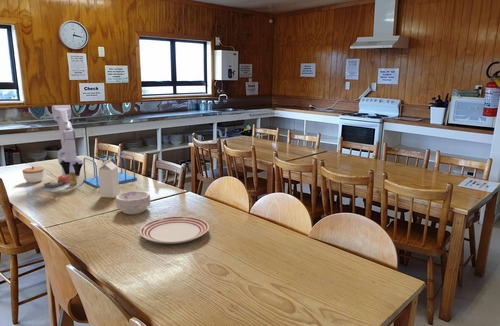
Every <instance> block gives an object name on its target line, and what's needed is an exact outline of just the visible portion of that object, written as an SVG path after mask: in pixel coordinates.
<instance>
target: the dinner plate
mask: <svg viewBox="0 0 500 326" xmlns="http://www.w3.org/2000/svg"><path fill="white" fill-rule="evenodd" d="M209 229H210V225H209V223H208V222H207V221H206V220H204V219H201V218H198V217H194V216H187V215H177V216H173V215H172V216H166V217H162V218H157V219H154V220H151V221H148V222H146V223H144V224H143V225H142V226H141V227H140V229H139V234H140V236H141V237H142V238H144V239H145V240H147V241H150V242H153V243H158V244H168V245H171V244H172V245H175V244H182V243H186V242H187V243H188V242H190V241H194V240H196V239H198V238H201V237H202V236H204V235H205V234H206V233H207V232H208V231H209Z"/></svg>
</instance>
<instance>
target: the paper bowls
mask: <svg viewBox="0 0 500 326" xmlns="http://www.w3.org/2000/svg"><path fill="white" fill-rule="evenodd" d="M115 204H116V209H118V210H121V212H122V213H124V214H126V215H137V214H141V213H143V212H145V211H146V209H147V208H148V207H150V205H151V195H150V193H149V192H147V191H142V190H131V191H127V192H121V193H119V194H118V195H117V196H116V197H115Z"/></svg>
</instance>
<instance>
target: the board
mask: <svg viewBox="0 0 500 326" xmlns="http://www.w3.org/2000/svg"><path fill="white" fill-rule="evenodd" d="M84 185H85V184H83V183H78V182H77V185H74V186H71V185H70V182H69V183H67V184H64V185H62V186H59V187H56V188H49V187H45V186H44V187H40V188H37V189H35V190H37V191H42V192H48V193H53V194H60V193H63V192H66V191H69V190H72V189H75V188H78V187H81V186H84Z"/></svg>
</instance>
